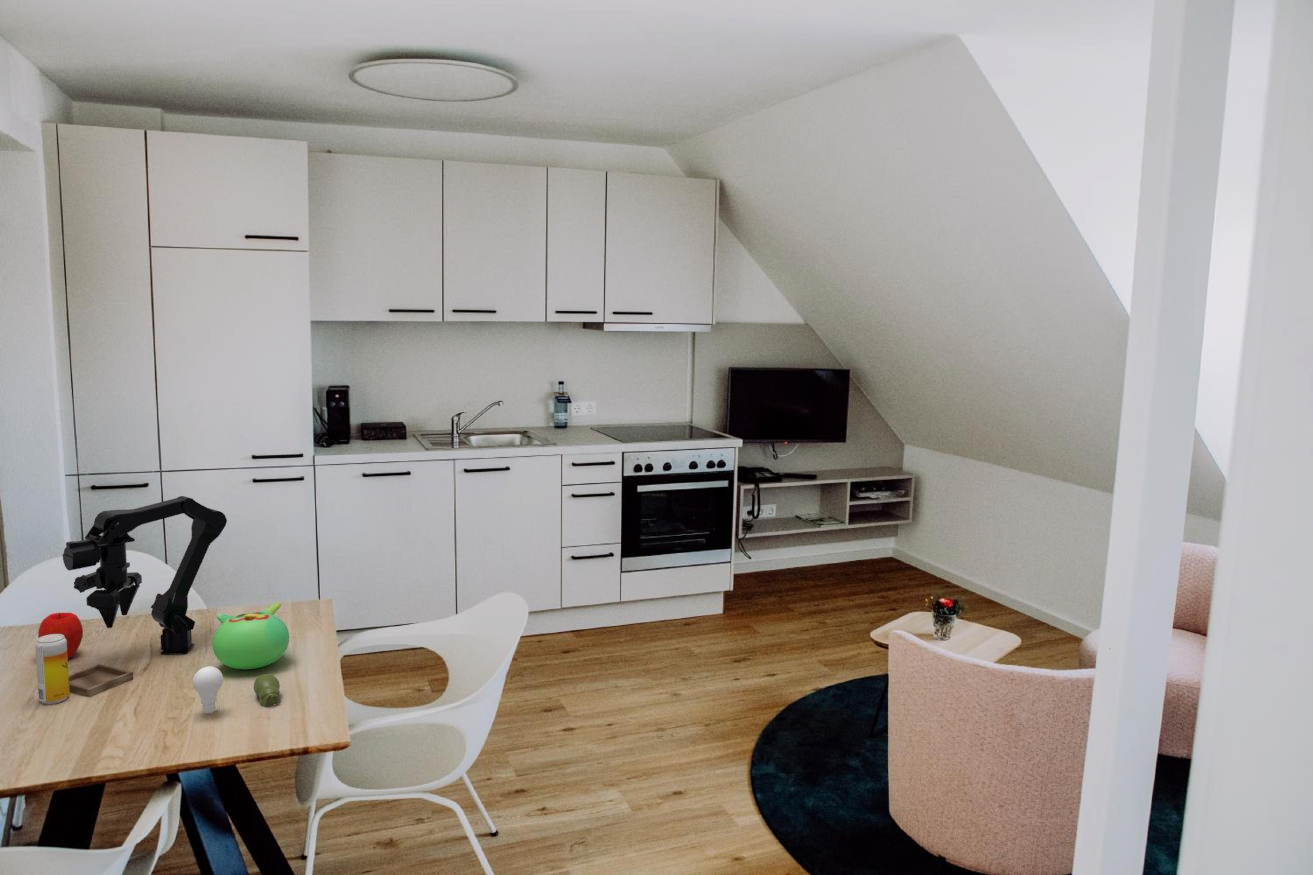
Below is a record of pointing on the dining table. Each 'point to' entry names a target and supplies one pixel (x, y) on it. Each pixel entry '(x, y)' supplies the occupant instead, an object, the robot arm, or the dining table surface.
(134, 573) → the robot arm
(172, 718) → the dining table surface
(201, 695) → the lightbulb
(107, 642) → the dining table surface
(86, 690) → the tray
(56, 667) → the beer can
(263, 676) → the olive green rounded piece
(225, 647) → the toy bird
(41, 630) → the apple
